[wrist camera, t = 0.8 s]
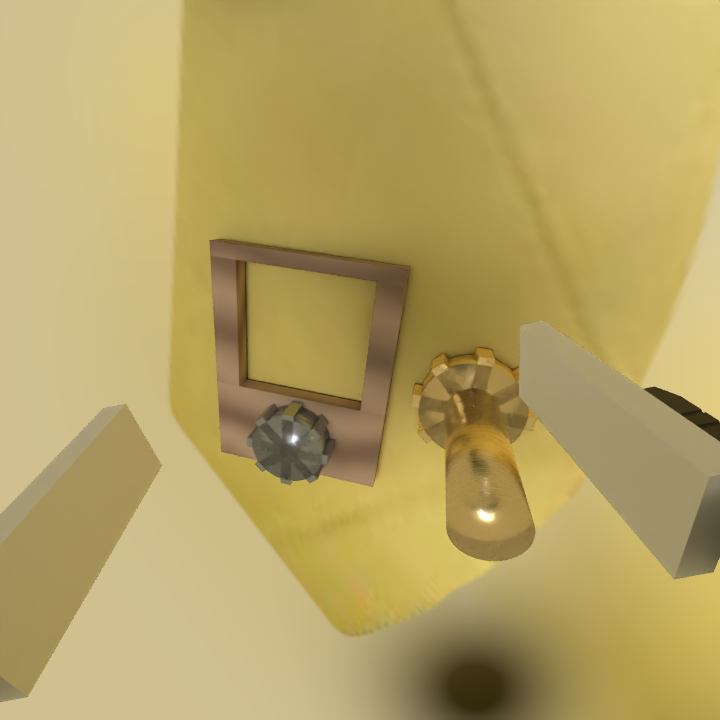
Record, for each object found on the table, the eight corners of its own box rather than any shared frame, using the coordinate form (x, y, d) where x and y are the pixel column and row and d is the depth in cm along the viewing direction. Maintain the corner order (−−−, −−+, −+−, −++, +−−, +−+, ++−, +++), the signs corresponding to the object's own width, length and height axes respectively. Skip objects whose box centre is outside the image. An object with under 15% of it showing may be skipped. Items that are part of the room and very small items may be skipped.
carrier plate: (219, 238, 31) (209, 240, 29) (410, 266, 28) (408, 269, 27) (229, 443, 39) (221, 451, 38) (375, 476, 37) (373, 487, 36)
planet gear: (423, 338, 30) (412, 433, 18) (547, 359, 29) (628, 479, 16) (404, 435, 34) (384, 569, 22) (512, 458, 33) (557, 614, 20)
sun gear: (259, 393, 34) (246, 406, 32) (338, 409, 33) (330, 424, 31) (259, 458, 37) (247, 474, 35) (331, 474, 36) (324, 493, 34)
